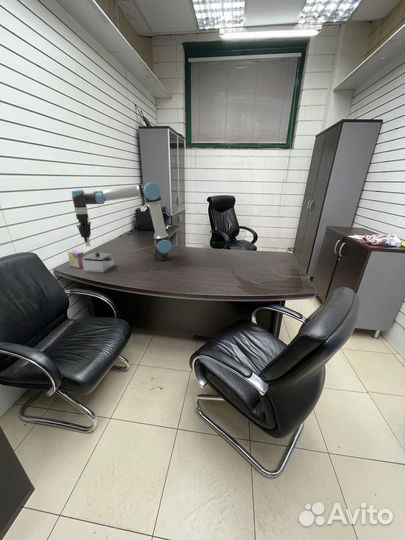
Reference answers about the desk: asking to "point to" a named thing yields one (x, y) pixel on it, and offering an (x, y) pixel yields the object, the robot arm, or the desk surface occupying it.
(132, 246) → the desk surface
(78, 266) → the box
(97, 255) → the lid
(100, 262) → the grey boxy piece
